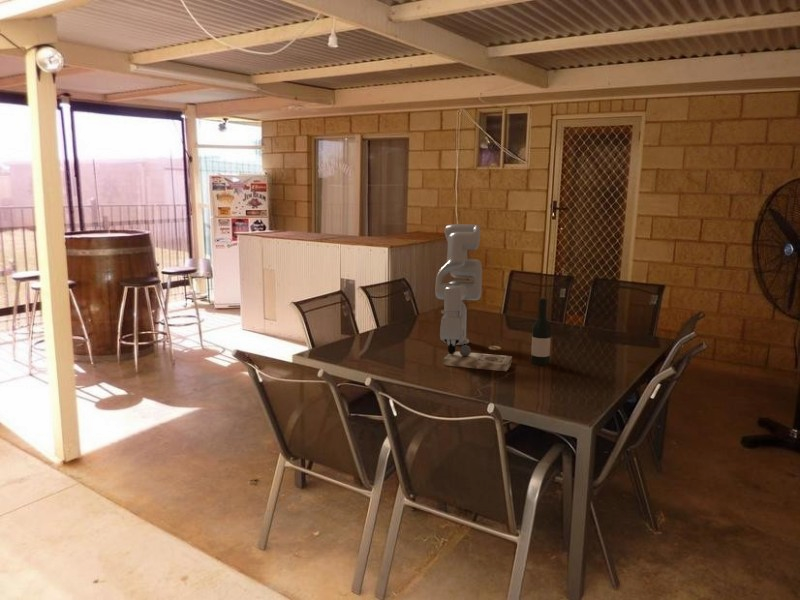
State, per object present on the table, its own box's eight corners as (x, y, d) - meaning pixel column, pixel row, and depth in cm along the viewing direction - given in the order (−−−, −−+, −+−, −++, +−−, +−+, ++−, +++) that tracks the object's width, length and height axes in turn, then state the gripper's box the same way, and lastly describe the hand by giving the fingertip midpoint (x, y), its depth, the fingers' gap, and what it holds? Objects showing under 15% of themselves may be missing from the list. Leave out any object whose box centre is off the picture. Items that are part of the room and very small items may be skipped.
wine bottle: (536, 366, 267) (539, 299, 262) (527, 361, 275) (530, 296, 270) (553, 365, 269) (556, 298, 264) (543, 360, 277) (546, 295, 272)
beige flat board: (443, 365, 269) (443, 358, 268) (451, 357, 282) (451, 350, 281) (507, 371, 260) (507, 364, 259) (511, 362, 273) (512, 356, 272)
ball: (457, 356, 272) (457, 345, 271) (463, 354, 276) (463, 343, 275) (466, 358, 269) (467, 347, 268) (472, 356, 272) (473, 345, 272)
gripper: (434, 314, 270) (433, 354, 273) (467, 316, 265) (466, 357, 268) (438, 311, 277) (437, 350, 280) (470, 313, 272) (469, 353, 275)
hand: (451, 353), depth 274 cm, fingers closed
